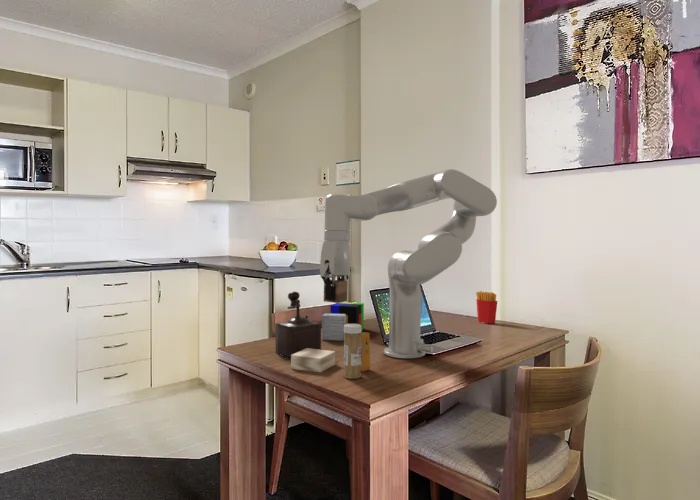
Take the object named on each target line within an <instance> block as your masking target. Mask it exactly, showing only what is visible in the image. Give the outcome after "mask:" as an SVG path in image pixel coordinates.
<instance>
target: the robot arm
mask: <svg viewBox="0 0 700 500" xmlns="http://www.w3.org/2000/svg"><path fill="white" fill-rule="evenodd" d="M446 199H452V200H453V201H454V202H453V210H452V211H453V212H452V215H451V217H450V219H448V220H447V221H446V222H445V223H443V224H442V225H440V226H439V227H437V228H436V229H434V230H433V231H431V232H429V233H428V234H426V235H425V236H423V237H422V238H421V239H420V241H419V242H418V245H417V246H418V247H417V250H415V251H414V250H405V249H404V250H403V249H402V250H399V251H396V252H395V253H393V254H392V255H391V257H390V258H389V261H388V263H387V276H388V283H389V284H388V285H389V308H388V309H389V311H388V313H389V315H388V317H389V319H388V323H389V324H388V325H389V326H388V329H389V330H388V333H389V335H388V346H387V347H385V348H384V349H383V354H384V355H386V356H387V357H391V358H395V359H419V358H423V357H424V356H425V355H426V353H432V352H433V351H434V346H433V345H432V344H429V343H428V344H427V343H424V339H423V338H421V324H422V323H421V322H422V321H421V320H422V319H421V316H422V315H421V314H422V312H421V310H422V290H421V285H423V284H426V283H427V282H429V281H430V280H432V279H434V278H435V277H437V276H438V275H440V274H441V273H443V272H445V270H447V269H448V268H450V267H451V266H453V265H454V264H455V263H457V262H458V261H459V259H460V257H461V255H462V251H463V244H465V243H466V242H467V241H469V240H470V239H471V237H472V236H473V234H474V232H475V229H476V223H477V217H484V216H489V215H490V214H492V213H494V211H495V209H496V207H497V203H498V200H497V196H496V194H495V192H494V191H493V190H492V189H491V188H490V187H488V186H486V185H485V184H483V183H481V182H480V181H477V180H476V179H474V178H473V177H470V176H469V175H468V174H466V173H463V172H462V171H459V170H457V169H454V168H451V169H446V170H442V171H441V170H440V171H439V172H435V173H430V174H427V175H423V176H419V177H417V178H416V177H415V178H412V179H409V180H405V181H401V182H398V183H395V184H393V185H390V186H388V187H385V188H382V189H379V190H375V191H371V192H368V193H365V194H358V195H347V194H343V193H342V194H338V193H337V194H336V193H335V194H328V195H327V196H326V197H325V200H324V231H323V232H324V233H323V234H324V236H323V238H324V240H323V242H322V245H321V252H320V262H319V274H320V275H319V276H320V278H321V279H322V281H323V287H324V286H325V300H332V301H334V300H335V292H336V287H334V284H335V280H343V281H348V280H349V278H350V275H351V274H352V273H351V245H350V242H351V220H352V221H355V222H363V221H365V222H366V221H369V220H372V219H374V218H375V217H377V216H380V215H385V214H389V213H393V212H403V211H408V210H411V209H412V210H413V209H414V208H418V207H421V206H426V205H428V204H431V203H437V202H439V201H443V200H446Z"/></svg>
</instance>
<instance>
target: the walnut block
mask: <svg viewBox="0 0 700 500" xmlns="http://www.w3.org/2000/svg"><path fill="white" fill-rule="evenodd" d="M348 285H349V283H348V280H347V281H343V280H337V279H335V284H334V287H336V292H335V300H334V301H332V300H325V286H324V285H323V302H325V303H326V302H327V303H334V304H335V303H340V302H348Z"/></svg>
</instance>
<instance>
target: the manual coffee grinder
mask: <svg viewBox="0 0 700 500" xmlns="http://www.w3.org/2000/svg"><path fill="white" fill-rule="evenodd" d="M299 298H300V293H299V292H298V291H291V292H289V293H288V294H287V299H288V300H289V301H290V306H287V310H294V309H295V311H296V314H295V316H293V317H292V318H289V319H288V320H287V321H283V322H277V323H275V325H274V326H275V329H274V330H275V331H274V332H275V334H274V335H275V354H277V353H278V354H277V355H279V354H281V355H280V356H282V355H283V356H282V357H284V356H285V358H287V357H288V359H291V355H292V354H294V353H297V352H299V351H301V350H304V349H306V348H311V349H320V350H322V323H318V322H315V321H314V320H312V319H309V315H308V314H307V315H306V316H305V317H304V316H302V315H301V314H300V307H301V304H300V303H301V301H300V299H299Z"/></svg>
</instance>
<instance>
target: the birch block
mask: <svg viewBox="0 0 700 500" xmlns="http://www.w3.org/2000/svg"><path fill="white" fill-rule="evenodd" d="M335 365H336V350H328V349H327V350H326V349H321V350H320V349H311V348H306V349H304V350H301V351H299V352H297V353H294V354H292V355H291V358H290V369H291V370H300V371H305V372H306V371H307V372H313V373H322V372H324V371H326V370H327V369H329V368H331V367H333V366H335Z"/></svg>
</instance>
